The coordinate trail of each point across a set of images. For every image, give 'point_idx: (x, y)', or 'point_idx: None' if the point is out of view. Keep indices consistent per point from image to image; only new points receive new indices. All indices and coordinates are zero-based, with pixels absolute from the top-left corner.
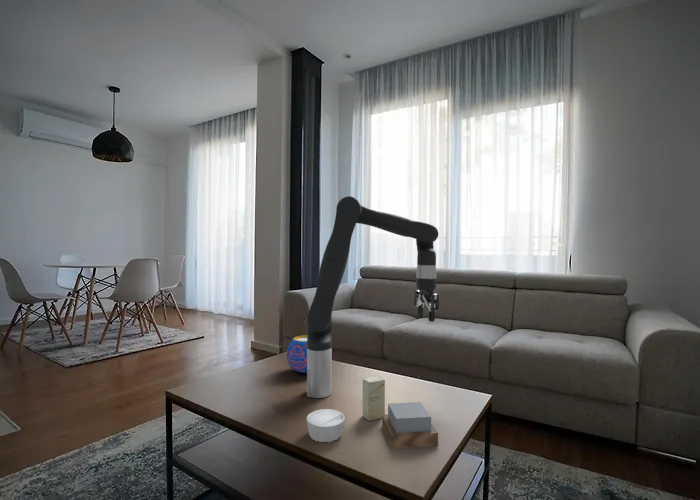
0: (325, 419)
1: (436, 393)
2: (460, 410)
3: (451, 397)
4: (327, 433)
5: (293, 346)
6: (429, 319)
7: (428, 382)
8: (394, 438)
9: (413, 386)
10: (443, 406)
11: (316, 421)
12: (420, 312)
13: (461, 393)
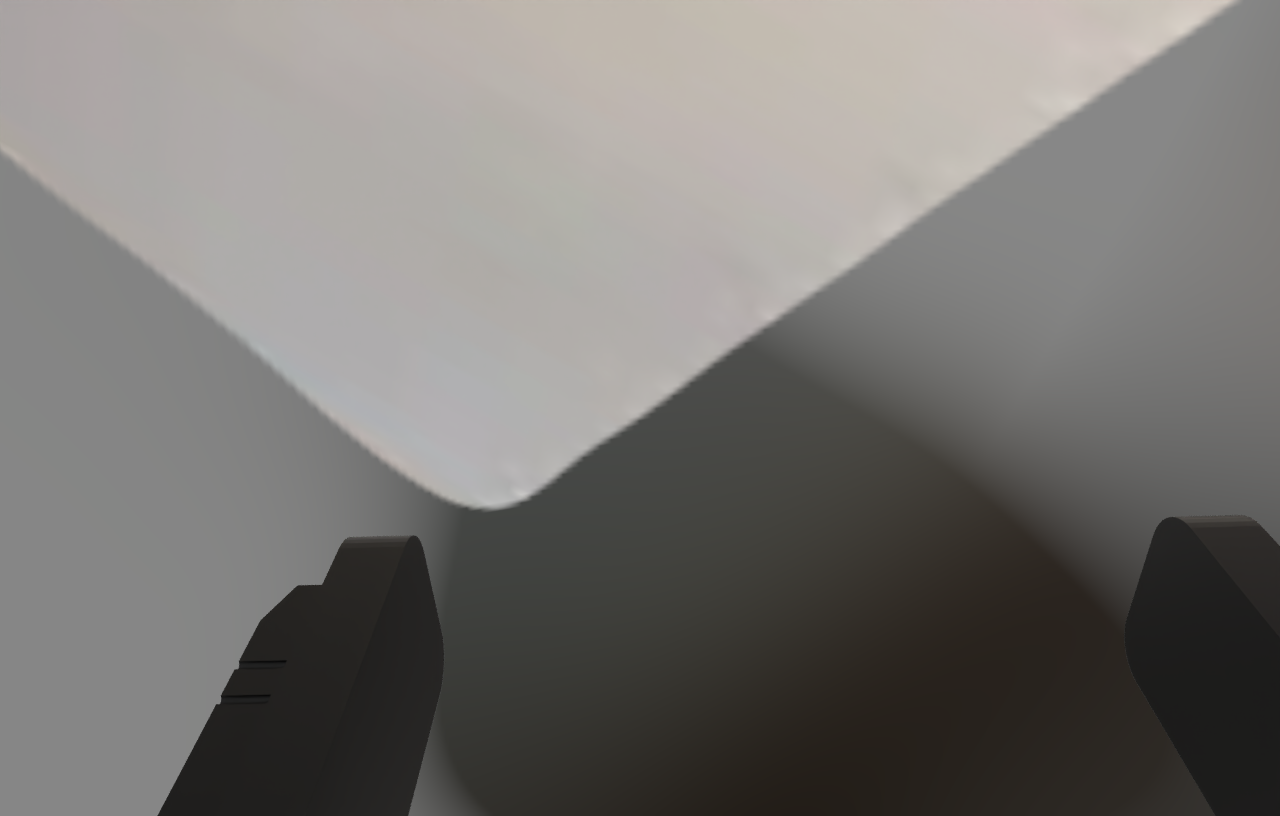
0: None
1: (609, 169)
2: (226, 180)
3: (493, 251)
4: None
5: None
6: (331, 573)
7: (884, 232)
8: None
9: (850, 26)
10: (317, 79)
11: None
12: (1242, 718)
13: (555, 371)
